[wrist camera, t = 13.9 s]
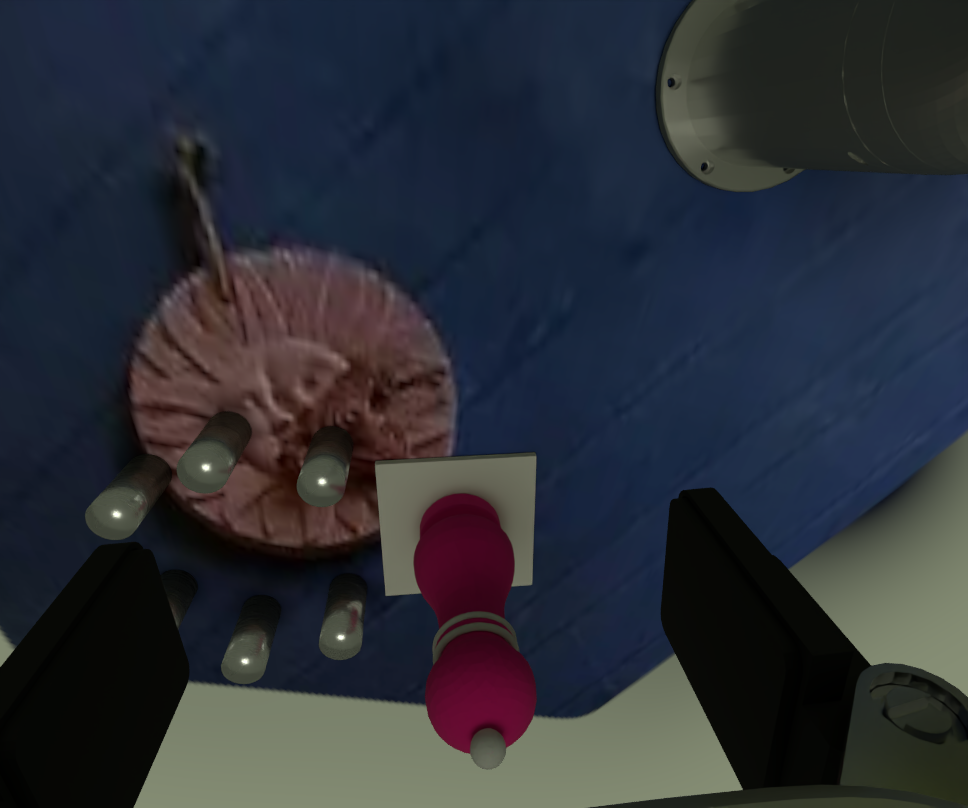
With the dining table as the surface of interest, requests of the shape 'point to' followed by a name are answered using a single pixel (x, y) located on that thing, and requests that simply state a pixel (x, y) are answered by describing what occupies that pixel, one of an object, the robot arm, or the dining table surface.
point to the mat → (429, 479)
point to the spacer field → (208, 473)
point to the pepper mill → (472, 630)
